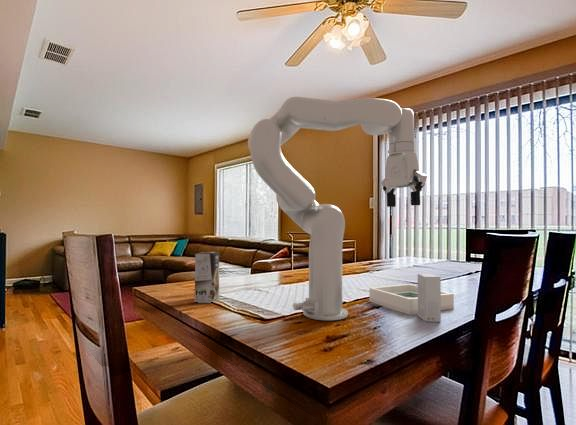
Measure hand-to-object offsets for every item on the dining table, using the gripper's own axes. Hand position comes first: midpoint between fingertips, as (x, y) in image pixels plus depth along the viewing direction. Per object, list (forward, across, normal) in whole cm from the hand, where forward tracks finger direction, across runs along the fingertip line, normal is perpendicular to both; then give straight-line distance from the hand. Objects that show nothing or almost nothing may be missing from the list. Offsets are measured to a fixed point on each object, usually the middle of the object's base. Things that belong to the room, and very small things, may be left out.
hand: (402, 206), depth 103 cm
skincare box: (+32, +10, -2) cm, 33 cm away
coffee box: (+31, -39, -51) cm, 71 cm away
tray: (+32, -4, +6) cm, 32 cm away
